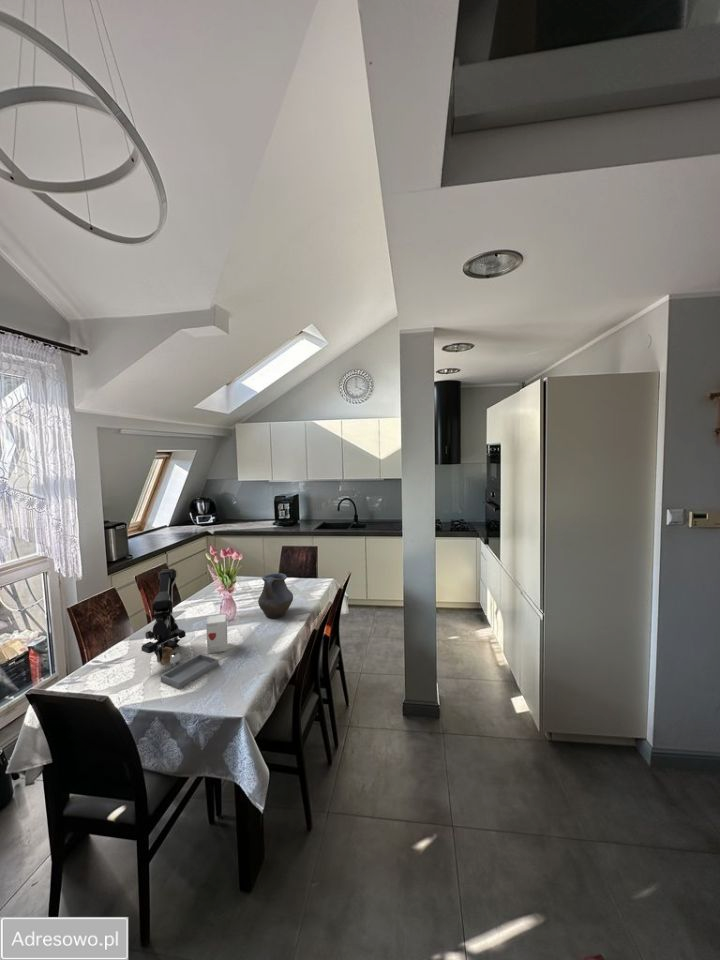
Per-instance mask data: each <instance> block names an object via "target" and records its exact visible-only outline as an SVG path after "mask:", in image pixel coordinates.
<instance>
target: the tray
mask: <svg viewBox="0 0 720 960" xmlns="http://www.w3.org/2000/svg"><path fill="white" fill-rule="evenodd" d="M219 663H220V662H219V659H218V658H215V657H211V656H208V655H206V654H202V653H199V654H197V655H195V656H193V657H192V658H189V659H188V660H186V661H185V662H183V663H181V665H179V666H177V667H175V668H173V669H171V668H170V670H168V671H166V672H164V673H163V674H160V682H161V683H163V684H166V685H168V686H171V687H173V688H175V689H178V690H182V689H183V688H184V687H186V686H187V685H189V684H191V683H193V682H194V681H196V680H198V679H199V678H201V677H202V676H203V675H206V674H207V673H209V672H211V671H212V670H214V669H216V667H219V666H220V664H219Z"/></svg>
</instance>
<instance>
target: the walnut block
mask: <svg viewBox="0 0 720 960" xmlns="http://www.w3.org/2000/svg"><path fill="white" fill-rule="evenodd" d="M173 653H174V651H173V649H172V648H169V647H165V648H162V659H161V661H159V660H158V658H157V657H156V663H160V664H162V665H166V664H168V663H170V655H171V654H173Z"/></svg>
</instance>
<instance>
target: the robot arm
mask: <svg viewBox="0 0 720 960" xmlns="http://www.w3.org/2000/svg"><path fill="white" fill-rule="evenodd" d="M157 577H158V580H159V587H158V594H157V595H156V596H155V597H154V601H153V602H152V607H151V608H152V611H151V618H152V619H155V622H154V624H153V627H152V630H148V631H146V632H145V633H144V634H145V639H146V640H154V641H155V642H154V641H148V642H146V643H144V644H142V645H141V646H140V647H141V652H144V653H146V654H152V653H154V654H155V656H156V659H157V658H158V660H159V661H161V659H162V648H165V647H169V648H172V649H173V652H174V651H175V649H176V648H177V647H179V645H180V644H178V643H179V642H180V641H181V640H180V639H182V638H183V639H184V638H185V637H186V631H185V630H183V629H180V627H179V625H178V624H177V622H176V618H175V617H174V615H173V612H174V611H173V610H174V602H173V588H174V585H175V583H176V581H177V578H178V570H177V569H176V570H175V568H165V569H164V568H163V569H161V570H160V571H159V572H157Z"/></svg>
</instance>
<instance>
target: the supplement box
mask: <svg viewBox="0 0 720 960" xmlns="http://www.w3.org/2000/svg"><path fill="white" fill-rule="evenodd" d="M227 618H228V614H218V615H210V616H207V619H206V624H205V626H206V648H207V649H206V650H207V651H206V652H207V654H208V653H209V654H214V653H215V652H216V653H221V652H222V651H223V652H227V651H228V650H227V649H228V644H229V642H228V619H227Z"/></svg>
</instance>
